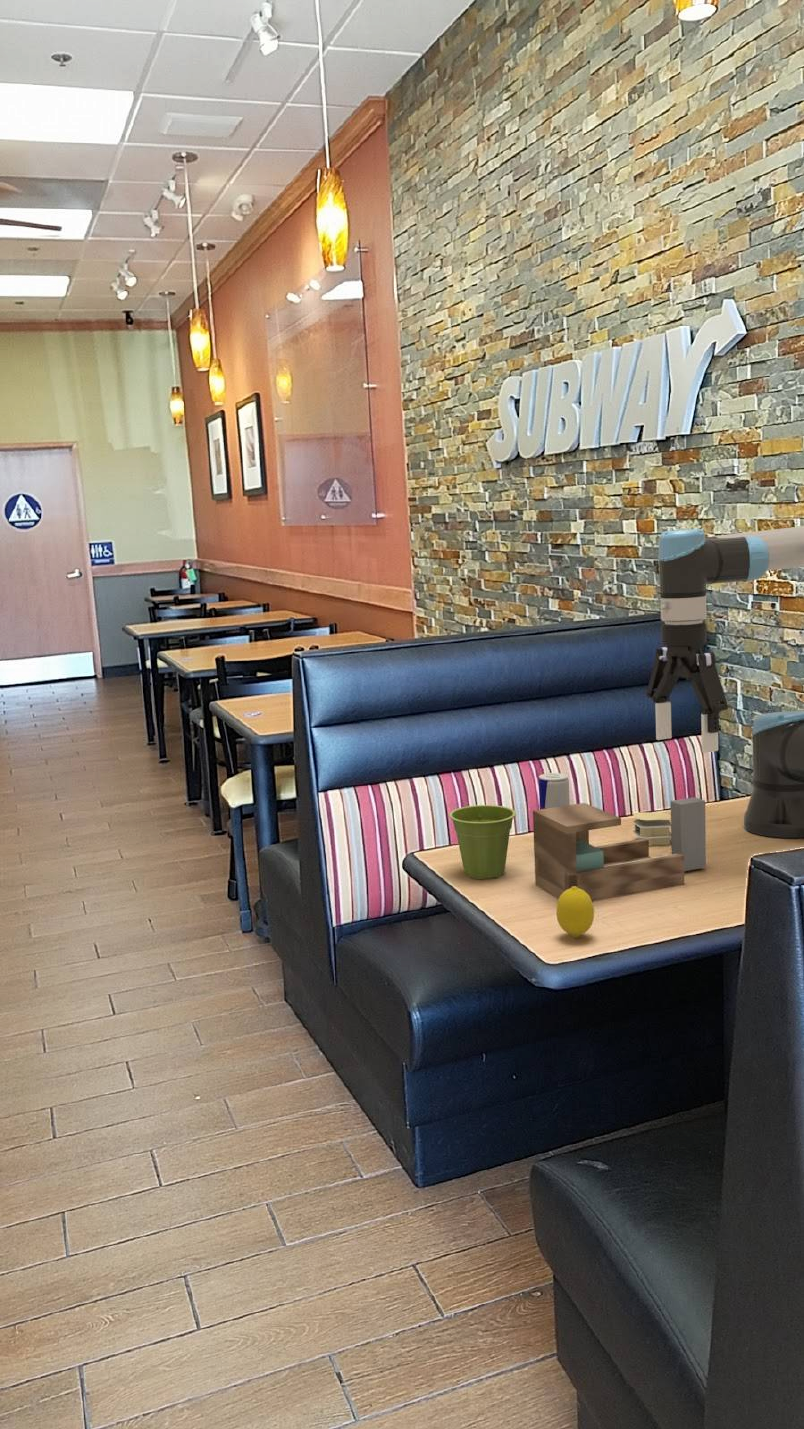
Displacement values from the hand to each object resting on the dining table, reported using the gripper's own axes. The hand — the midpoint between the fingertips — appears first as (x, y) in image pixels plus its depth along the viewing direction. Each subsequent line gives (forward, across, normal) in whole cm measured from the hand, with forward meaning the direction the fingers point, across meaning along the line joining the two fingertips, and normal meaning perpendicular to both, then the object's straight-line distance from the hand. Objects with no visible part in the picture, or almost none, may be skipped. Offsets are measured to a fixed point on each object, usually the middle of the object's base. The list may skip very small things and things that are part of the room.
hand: (686, 745), depth 190 cm
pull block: (+22, 0, -11) cm, 25 cm away
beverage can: (+22, -21, -15) cm, 34 cm away
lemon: (+22, +19, -33) cm, 44 cm away
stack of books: (+23, -18, +4) cm, 29 cm away
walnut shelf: (+22, 0, -16) cm, 27 cm away
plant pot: (+22, -16, -32) cm, 42 cm away
